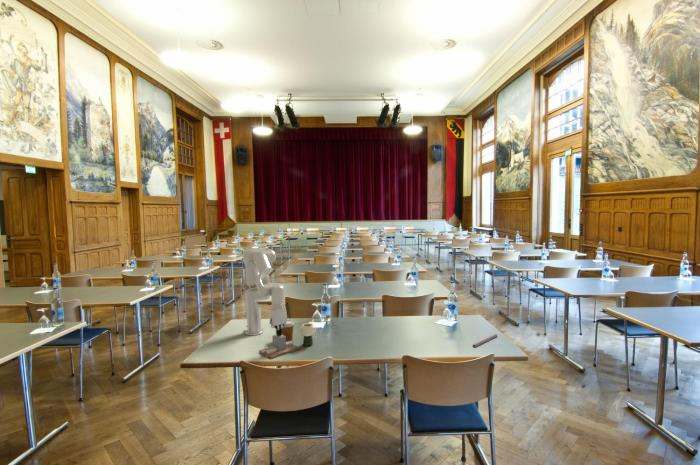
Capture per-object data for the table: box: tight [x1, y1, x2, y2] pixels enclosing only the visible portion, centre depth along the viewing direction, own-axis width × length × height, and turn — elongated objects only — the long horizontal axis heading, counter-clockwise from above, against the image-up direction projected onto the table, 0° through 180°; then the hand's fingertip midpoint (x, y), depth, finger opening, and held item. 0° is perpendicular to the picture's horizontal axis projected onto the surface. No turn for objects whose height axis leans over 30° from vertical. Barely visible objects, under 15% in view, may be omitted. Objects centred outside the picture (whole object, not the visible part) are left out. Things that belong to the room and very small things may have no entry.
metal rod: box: [472, 333, 498, 348], centre depth 232 cm, size 2×27×2 cm, turn 131°
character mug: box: [298, 322, 317, 347], centre depth 231 cm, size 11×7×13 cm, turn 82°
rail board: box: [258, 340, 300, 360], centre depth 223 cm, size 14×20×3 cm
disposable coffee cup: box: [282, 319, 295, 342], centre depth 241 cm, size 10×10×12 cm
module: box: [271, 333, 287, 351], centre depth 223 cm, size 7×5×8 cm
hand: (279, 335), depth 222 cm, fingers closed
